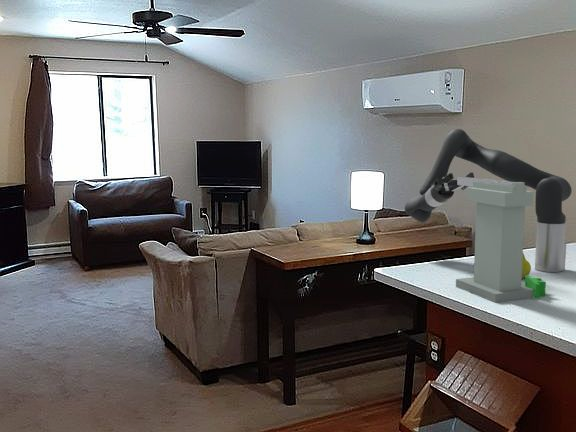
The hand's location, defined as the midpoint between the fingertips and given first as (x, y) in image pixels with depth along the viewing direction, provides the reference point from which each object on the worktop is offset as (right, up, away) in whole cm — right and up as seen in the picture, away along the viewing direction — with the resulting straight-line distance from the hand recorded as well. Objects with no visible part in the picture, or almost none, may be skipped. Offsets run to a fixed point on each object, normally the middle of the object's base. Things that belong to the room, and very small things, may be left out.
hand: (462, 175), depth 205 cm
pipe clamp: (+15, -39, -25) cm, 48 cm away
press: (+2, -38, -23) cm, 44 cm away
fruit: (+18, -36, -6) cm, 40 cm away
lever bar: (0, -6, -23) cm, 23 cm away
